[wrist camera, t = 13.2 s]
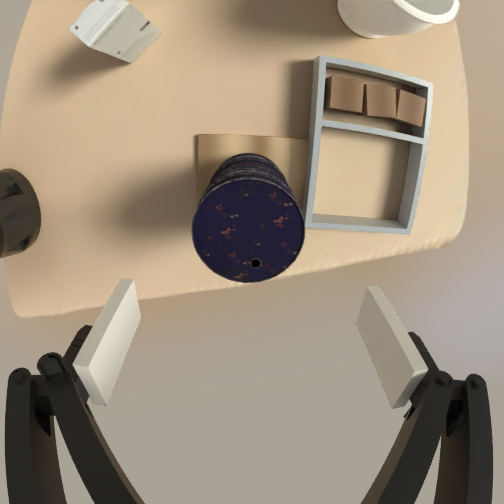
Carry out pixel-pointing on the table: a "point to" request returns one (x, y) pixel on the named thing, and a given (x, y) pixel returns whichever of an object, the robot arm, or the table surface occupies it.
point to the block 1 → (343, 94)
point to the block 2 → (378, 101)
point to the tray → (417, 139)
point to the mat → (274, 148)
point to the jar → (395, 15)
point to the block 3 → (409, 108)
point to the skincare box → (115, 29)
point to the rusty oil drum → (248, 221)
